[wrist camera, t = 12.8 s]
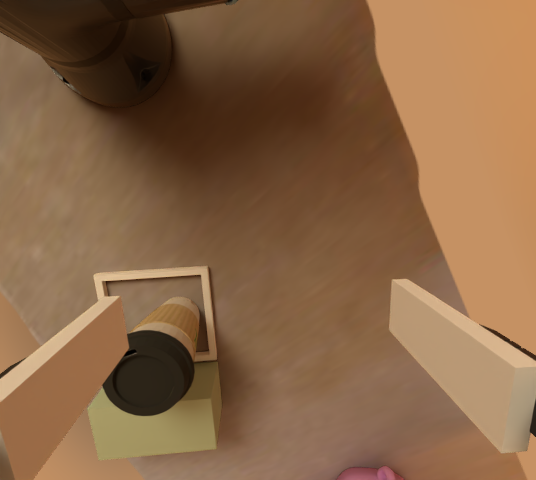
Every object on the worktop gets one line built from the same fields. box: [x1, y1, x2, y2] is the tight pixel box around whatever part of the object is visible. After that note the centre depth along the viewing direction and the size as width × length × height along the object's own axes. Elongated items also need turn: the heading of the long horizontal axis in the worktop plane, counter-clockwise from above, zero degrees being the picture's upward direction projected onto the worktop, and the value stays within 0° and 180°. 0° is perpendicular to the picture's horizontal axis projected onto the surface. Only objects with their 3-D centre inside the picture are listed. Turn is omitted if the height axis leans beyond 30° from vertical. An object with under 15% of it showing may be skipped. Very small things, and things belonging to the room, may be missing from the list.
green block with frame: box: [87, 266, 222, 460], centre depth 41 cm, size 25×16×8 cm, turn 3°
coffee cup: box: [103, 297, 200, 416], centre depth 37 cm, size 10×10×15 cm
